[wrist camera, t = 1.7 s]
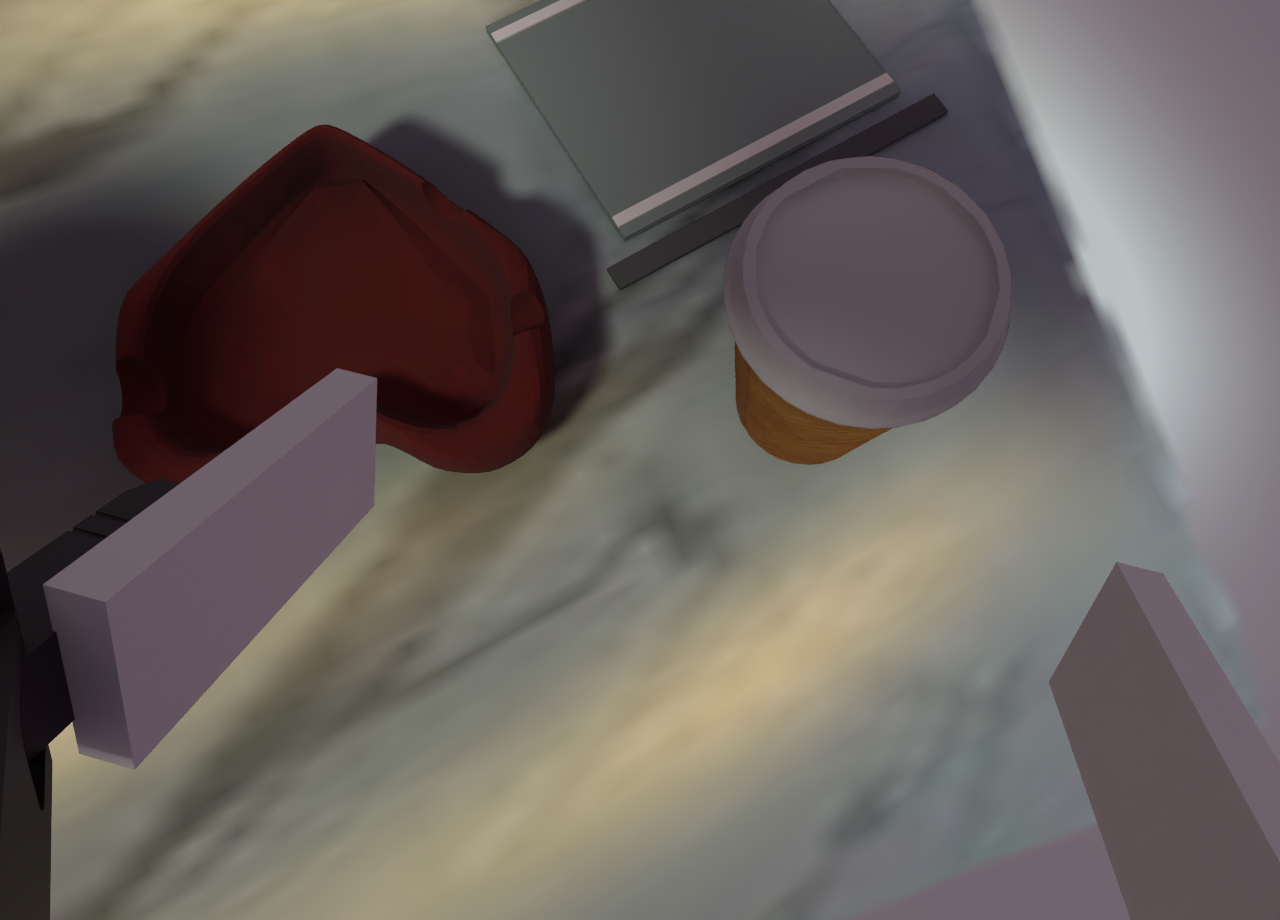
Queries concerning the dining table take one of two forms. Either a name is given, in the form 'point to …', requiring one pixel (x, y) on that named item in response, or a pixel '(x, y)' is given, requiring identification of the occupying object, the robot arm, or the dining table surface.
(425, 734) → the dining table surface
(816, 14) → the mat
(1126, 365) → the dining table surface
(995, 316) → the disposable coffee cup
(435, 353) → the ashtray
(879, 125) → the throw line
